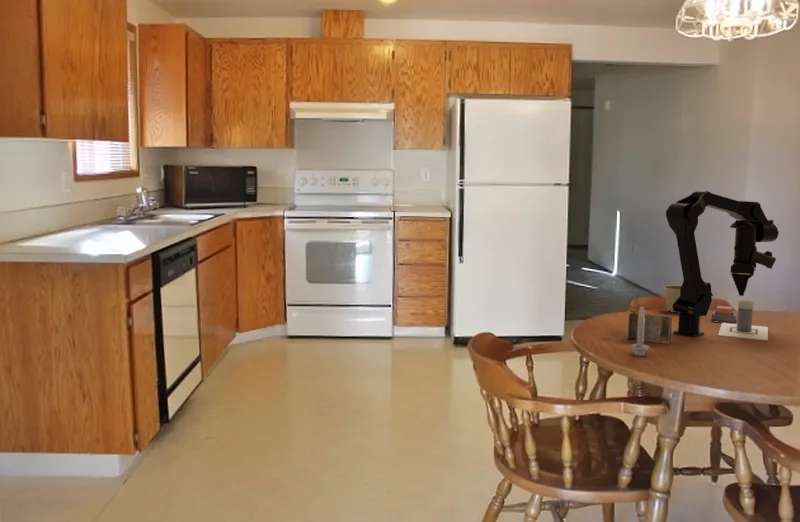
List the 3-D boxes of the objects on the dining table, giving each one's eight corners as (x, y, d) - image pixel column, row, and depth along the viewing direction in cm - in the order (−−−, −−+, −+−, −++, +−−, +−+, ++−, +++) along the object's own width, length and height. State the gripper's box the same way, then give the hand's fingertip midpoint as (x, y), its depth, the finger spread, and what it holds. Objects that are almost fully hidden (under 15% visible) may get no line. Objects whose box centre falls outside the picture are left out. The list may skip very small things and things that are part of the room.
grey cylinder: (747, 332, 211) (749, 303, 210) (733, 330, 214) (735, 301, 213) (754, 331, 213) (756, 301, 212) (740, 328, 216) (742, 299, 215)
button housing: (735, 324, 225) (735, 316, 225) (711, 321, 228) (711, 314, 228) (735, 320, 231) (736, 312, 231) (712, 318, 234) (713, 310, 234)
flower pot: (695, 314, 240) (696, 289, 239) (667, 314, 240) (668, 289, 239) (684, 309, 250) (686, 285, 249) (658, 309, 250) (659, 285, 249)
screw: (632, 356, 182) (628, 352, 187) (651, 357, 181) (646, 352, 186) (634, 307, 181) (630, 304, 185) (653, 307, 180) (649, 304, 185)
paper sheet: (767, 340, 202) (767, 339, 202) (718, 335, 208) (718, 334, 208) (767, 327, 219) (767, 326, 219) (721, 323, 225) (722, 322, 225)
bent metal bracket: (627, 340, 202) (628, 307, 201) (629, 338, 205) (631, 305, 204) (668, 345, 197) (670, 311, 196) (670, 343, 199) (672, 309, 198)
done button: (731, 316, 226) (731, 309, 226) (716, 314, 228) (716, 307, 228) (731, 313, 230) (732, 306, 230) (717, 312, 232) (717, 305, 232)
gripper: (774, 246, 202) (771, 300, 204) (775, 241, 218) (772, 291, 220) (731, 244, 207) (728, 297, 209) (736, 240, 223) (733, 288, 225)
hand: (742, 293), depth 216 cm, fingers open, 9 cm apart
